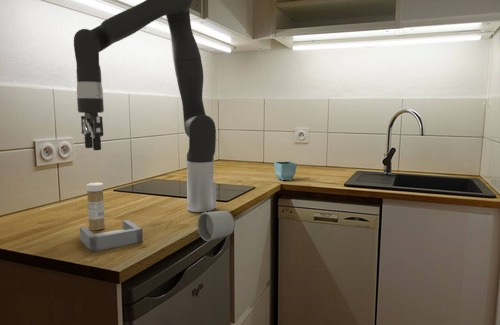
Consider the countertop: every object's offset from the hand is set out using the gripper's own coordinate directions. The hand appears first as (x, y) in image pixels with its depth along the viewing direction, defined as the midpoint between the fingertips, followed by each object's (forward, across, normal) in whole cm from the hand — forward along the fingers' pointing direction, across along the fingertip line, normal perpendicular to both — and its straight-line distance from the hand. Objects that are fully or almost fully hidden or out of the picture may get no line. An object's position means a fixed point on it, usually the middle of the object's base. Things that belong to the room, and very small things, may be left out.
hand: (93, 149), depth 123 cm
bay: (+22, -26, +4) cm, 34 cm away
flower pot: (+23, +13, -97) cm, 100 cm away
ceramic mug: (+23, -39, -20) cm, 49 cm away
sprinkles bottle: (+22, -13, +4) cm, 26 cm away
